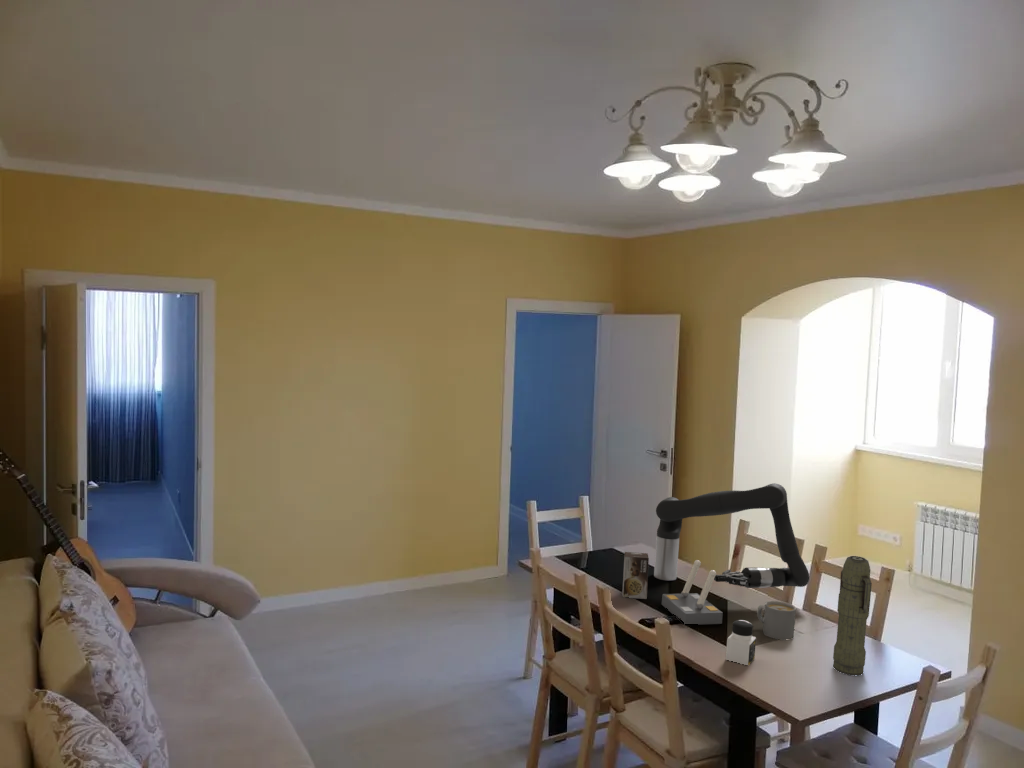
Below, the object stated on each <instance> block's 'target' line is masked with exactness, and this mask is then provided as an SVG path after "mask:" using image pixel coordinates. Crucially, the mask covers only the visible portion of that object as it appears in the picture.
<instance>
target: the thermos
mask: <svg viewBox="0 0 1024 768" xmlns="http://www.w3.org/2000/svg"><path fill="white" fill-rule="evenodd" d="M869 562H870V561H869V560H868V559H866V558H865V557H863V556H856V555H850V556H847V557H846V560H845V561H844V563H843V566H842V570H841V571H840V582H839V583H840V584H839V593H838V599H837V613H838V614H837V615H838V618H837V619H838V620H837V633H836V642H835V643H834V646H833V656H832V658H833V664H832V668H833V667H834V668H835V669H836V670H837V671H836V670H835V669H834V668H833V669H834V670H835V671H836V672H838V671H839V672H838V673H840V672H841V674H843V673H844V675H846V674H847V675H846V676H851V675H854V676H853V677H856V676H855V675H860V676H862V675H864V673H863V672H864V668H865V665H866V655H867V654H866V653H867V651H866V648H865V643H866V642H865V641H866V630H867V620H868V618H869V616H870V606H871V597H872V596H871V595H872V587H873V586H872V585H873V584H872V581H871V565H870V563H869ZM861 674H862V675H861Z"/></svg>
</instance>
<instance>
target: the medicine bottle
mask: <svg viewBox="0 0 1024 768" xmlns="http://www.w3.org/2000/svg"><path fill="white" fill-rule="evenodd" d="M731 629H732V630H731V634H730V635H729V636H728V637H727V638H726V639H727V640H726V653H725V654H726V655H725V660H726V661H727V660H729V661H728V662H731V661H733V662H732V663H734V662H737V663H736V664H738V663H740V664H739V665H742V664H744V665H743V666H745V665H748V666H747V667H749V666H750V665H751V664H750V663H753V661H754V660H755V657H756V655H755V654H756V645H757V638H756V636H753V632H754V631H753V629H754V625H753V624H752V623H751V622H749V621H748V620H744V619H737V620H734V621H733V622H732V627H731Z"/></svg>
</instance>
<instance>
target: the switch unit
mask: <svg viewBox="0 0 1024 768" xmlns="http://www.w3.org/2000/svg"><path fill="white" fill-rule="evenodd" d="M700 595H701V594H699V593H697V592H695V593H693V592H692V593H690V592H689V593H688V597H687V598H685V597H684V596H682V595H681V593H663V594H662V596H661V597H662V598H661V605H662V606H663V607H664V608H665V609H666V608H667V609H668V610H667V609H666V610H667V611H669V612H670V613H671V614H672V615H673V614H674V615H676V616H678V617H679V618H681V620H682V621H683V622H684V624H683V625H685V624H698V625H720V624H723V616H724V614H723V611H721V610H720V609H719V608H717V607H716V606H715V605H713V604H712V603H711V602H709V601H708V600H707V599H706V600H705V602H704V604H703V609H699V608H698V607H696V603H697V602H698V599H699V597H700ZM674 615H673V616H674Z"/></svg>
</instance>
